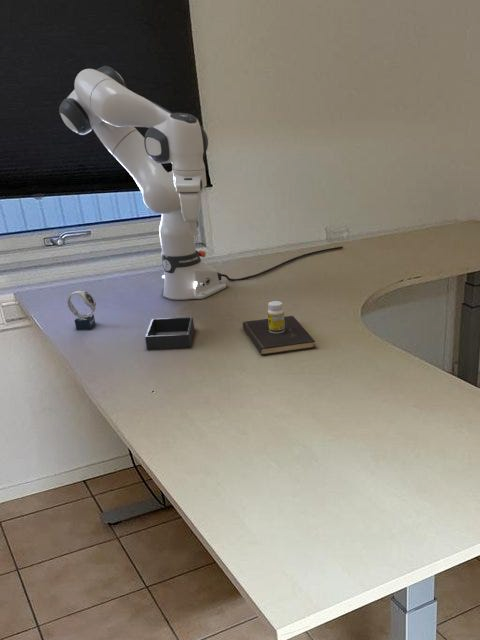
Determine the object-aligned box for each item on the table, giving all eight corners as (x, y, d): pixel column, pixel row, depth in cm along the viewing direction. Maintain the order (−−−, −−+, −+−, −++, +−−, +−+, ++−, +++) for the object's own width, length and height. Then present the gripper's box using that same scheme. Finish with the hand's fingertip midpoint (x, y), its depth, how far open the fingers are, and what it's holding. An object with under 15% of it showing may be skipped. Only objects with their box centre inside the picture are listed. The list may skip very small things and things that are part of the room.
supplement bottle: (269, 328, 221) (267, 300, 217) (285, 327, 222) (283, 300, 217) (268, 334, 217) (266, 306, 213) (285, 333, 218) (283, 305, 213)
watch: (97, 329, 228) (90, 294, 223) (70, 330, 228) (63, 294, 222) (101, 323, 233) (95, 288, 227) (75, 323, 233) (68, 289, 227)
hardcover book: (293, 322, 232) (293, 315, 231) (315, 348, 214) (315, 340, 213) (242, 329, 228) (242, 321, 227) (260, 356, 209) (260, 348, 208)
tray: (153, 331, 227) (151, 318, 225) (194, 329, 228) (192, 317, 226) (147, 350, 214) (145, 336, 212) (190, 348, 215) (188, 334, 213)
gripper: (180, 172, 213) (186, 222, 220) (175, 186, 196) (181, 240, 203) (203, 172, 214) (207, 222, 221) (199, 186, 196) (204, 240, 204)
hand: (194, 231), depth 212 cm, fingers open, 8 cm apart
